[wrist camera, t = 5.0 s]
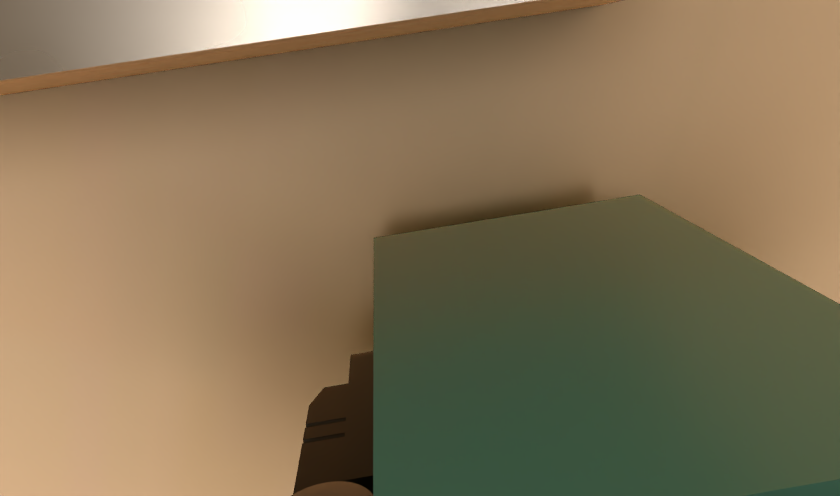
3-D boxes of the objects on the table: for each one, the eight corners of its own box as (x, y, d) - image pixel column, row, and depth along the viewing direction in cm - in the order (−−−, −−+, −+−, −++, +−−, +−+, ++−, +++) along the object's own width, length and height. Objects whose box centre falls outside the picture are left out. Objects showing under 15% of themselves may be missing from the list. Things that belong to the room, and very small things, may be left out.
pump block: (640, 194, 12) (1081, 437, 5) (651, 427, 14) (1000, 903, 6) (373, 238, 12) (373, 560, 4) (414, 467, 14) (466, 1002, 6)
